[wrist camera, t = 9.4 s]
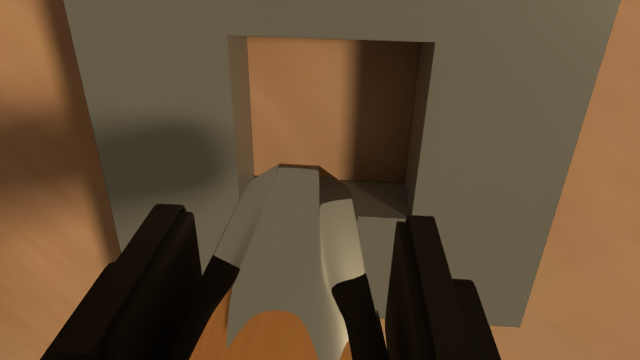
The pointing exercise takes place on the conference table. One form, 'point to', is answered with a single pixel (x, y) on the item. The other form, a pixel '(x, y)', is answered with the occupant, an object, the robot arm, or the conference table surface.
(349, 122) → the conference table surface
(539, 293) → the conference table surface
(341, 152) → the conference table surface
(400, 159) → the conference table surface
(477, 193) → the socket plate
